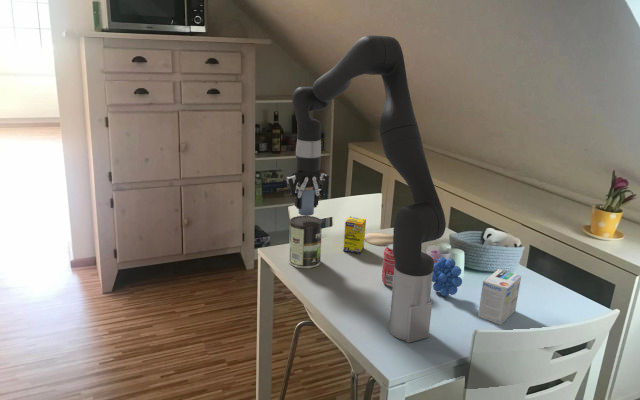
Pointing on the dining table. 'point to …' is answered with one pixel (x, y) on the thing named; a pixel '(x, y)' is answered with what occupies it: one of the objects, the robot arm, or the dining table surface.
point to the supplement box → (354, 235)
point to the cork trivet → (379, 238)
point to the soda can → (388, 265)
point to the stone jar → (307, 201)
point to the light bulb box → (499, 296)
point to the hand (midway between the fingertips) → (306, 207)
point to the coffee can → (305, 241)
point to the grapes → (446, 276)
